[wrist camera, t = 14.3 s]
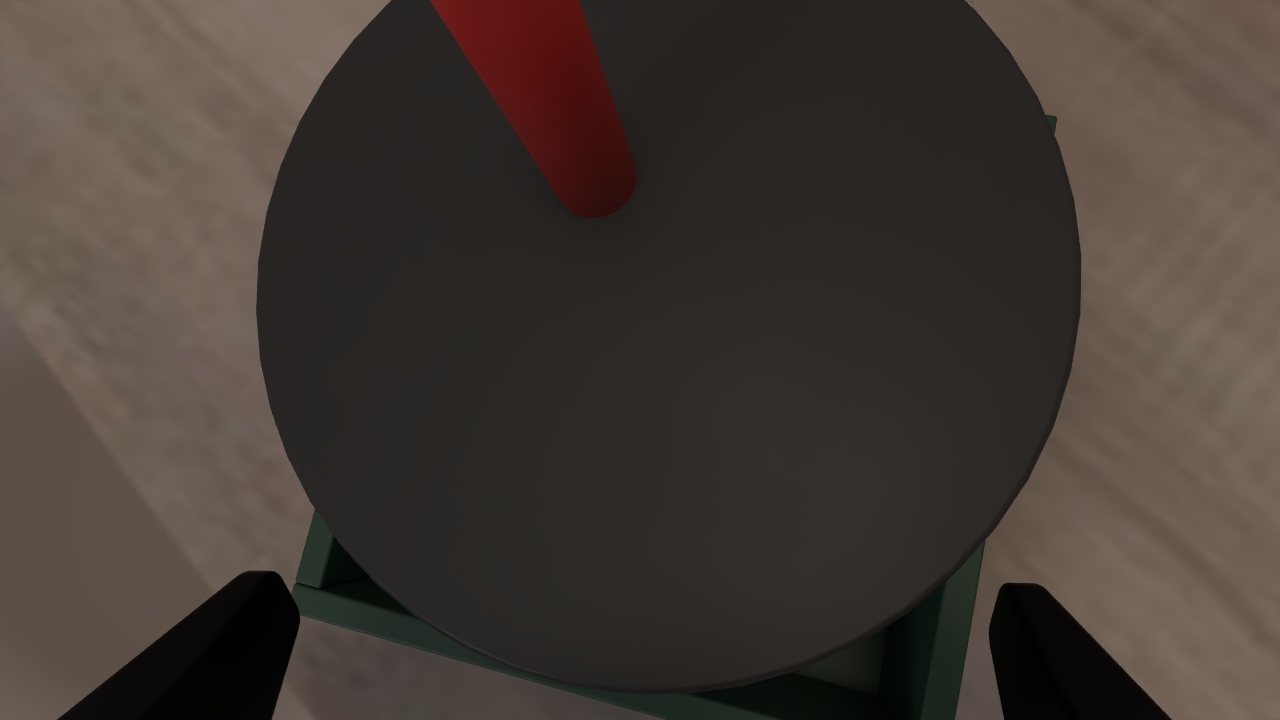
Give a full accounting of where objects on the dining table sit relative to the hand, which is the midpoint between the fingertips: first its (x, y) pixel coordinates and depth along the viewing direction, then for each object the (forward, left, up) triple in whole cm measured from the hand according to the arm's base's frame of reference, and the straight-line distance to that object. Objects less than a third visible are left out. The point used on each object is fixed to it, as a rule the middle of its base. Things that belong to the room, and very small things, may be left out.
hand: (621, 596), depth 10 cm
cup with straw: (+3, 0, -10) cm, 10 cm away
